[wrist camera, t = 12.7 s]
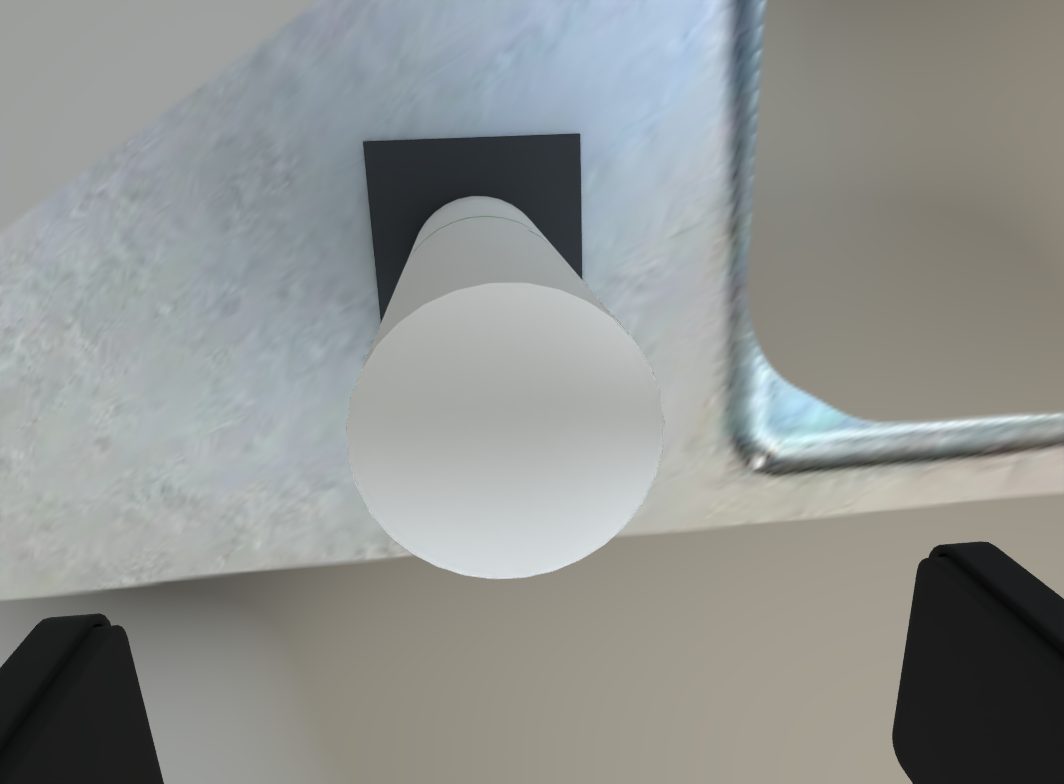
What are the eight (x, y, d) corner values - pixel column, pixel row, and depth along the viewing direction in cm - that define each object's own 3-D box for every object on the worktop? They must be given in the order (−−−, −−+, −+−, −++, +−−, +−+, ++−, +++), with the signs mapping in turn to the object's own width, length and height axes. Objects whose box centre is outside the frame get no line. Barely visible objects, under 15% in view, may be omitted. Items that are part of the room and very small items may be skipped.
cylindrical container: (490, 355, 42) (529, 629, 19) (384, 275, 40) (280, 468, 17) (573, 254, 41) (728, 413, 17) (468, 166, 39) (482, 211, 15)
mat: (363, 141, 39) (362, 141, 38) (579, 133, 39) (580, 133, 39) (387, 385, 43) (387, 387, 42) (582, 374, 44) (583, 375, 43)
